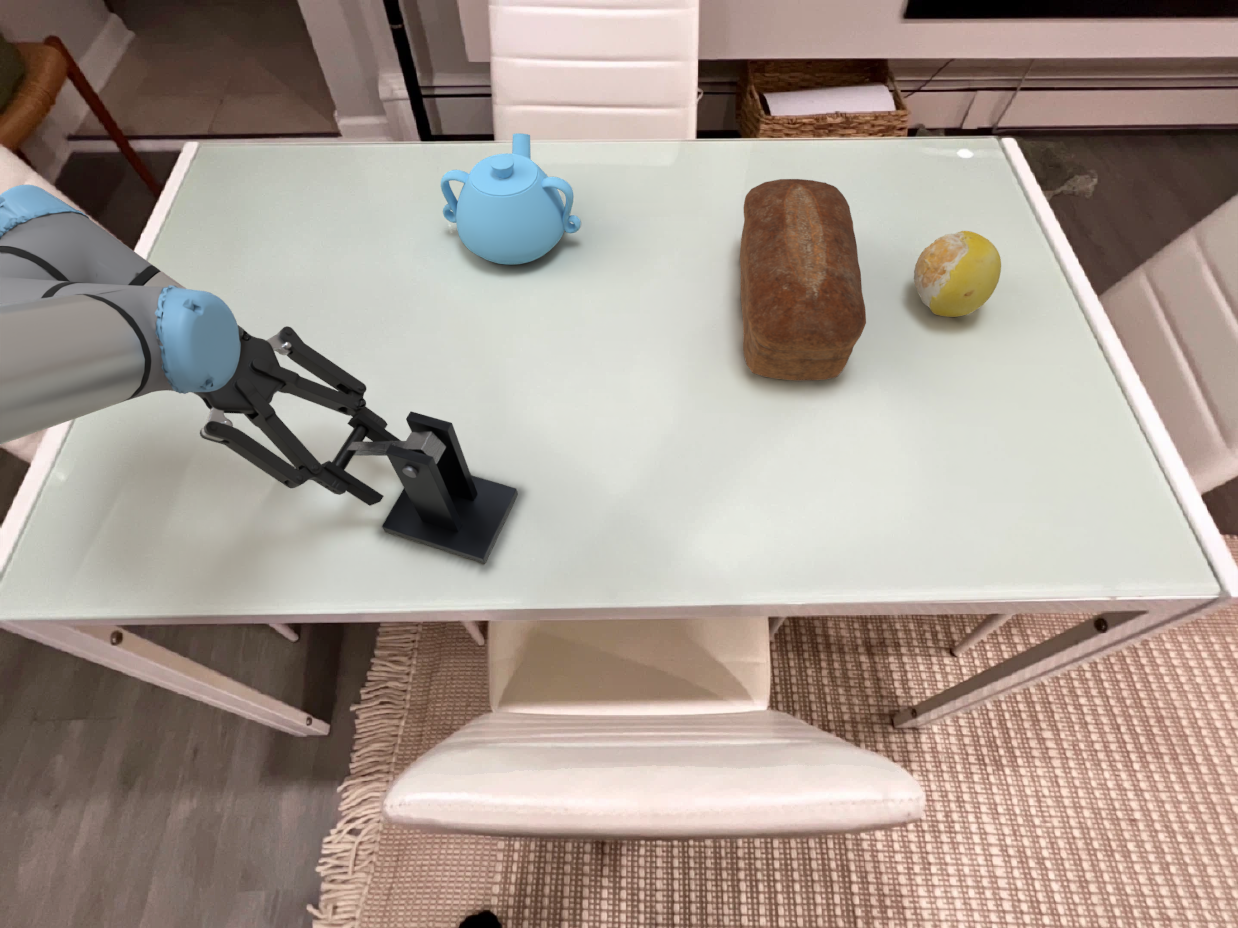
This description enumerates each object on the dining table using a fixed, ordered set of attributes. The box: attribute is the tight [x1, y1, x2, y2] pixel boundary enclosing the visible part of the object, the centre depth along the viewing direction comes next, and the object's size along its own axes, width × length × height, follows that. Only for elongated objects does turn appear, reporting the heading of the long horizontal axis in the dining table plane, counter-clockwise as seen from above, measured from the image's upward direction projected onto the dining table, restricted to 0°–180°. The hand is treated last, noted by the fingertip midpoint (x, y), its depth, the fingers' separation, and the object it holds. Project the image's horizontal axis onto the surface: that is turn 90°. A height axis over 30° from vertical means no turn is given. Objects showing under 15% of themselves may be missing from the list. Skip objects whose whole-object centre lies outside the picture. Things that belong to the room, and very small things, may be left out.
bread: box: [739, 178, 867, 382], centre depth 89 cm, size 14×28×12 cm, turn 176°
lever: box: [331, 424, 446, 471], centre depth 70 cm, size 13×6×2 cm, turn 71°
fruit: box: [913, 230, 1002, 318], centre depth 90 cm, size 10×11×10 cm
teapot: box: [440, 132, 582, 266], centre depth 98 cm, size 20×20×13 cm
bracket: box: [381, 411, 519, 564], centre depth 72 cm, size 12×9×15 cm
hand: (390, 476), depth 75 cm, fingers closed on lever, 5 cm apart
